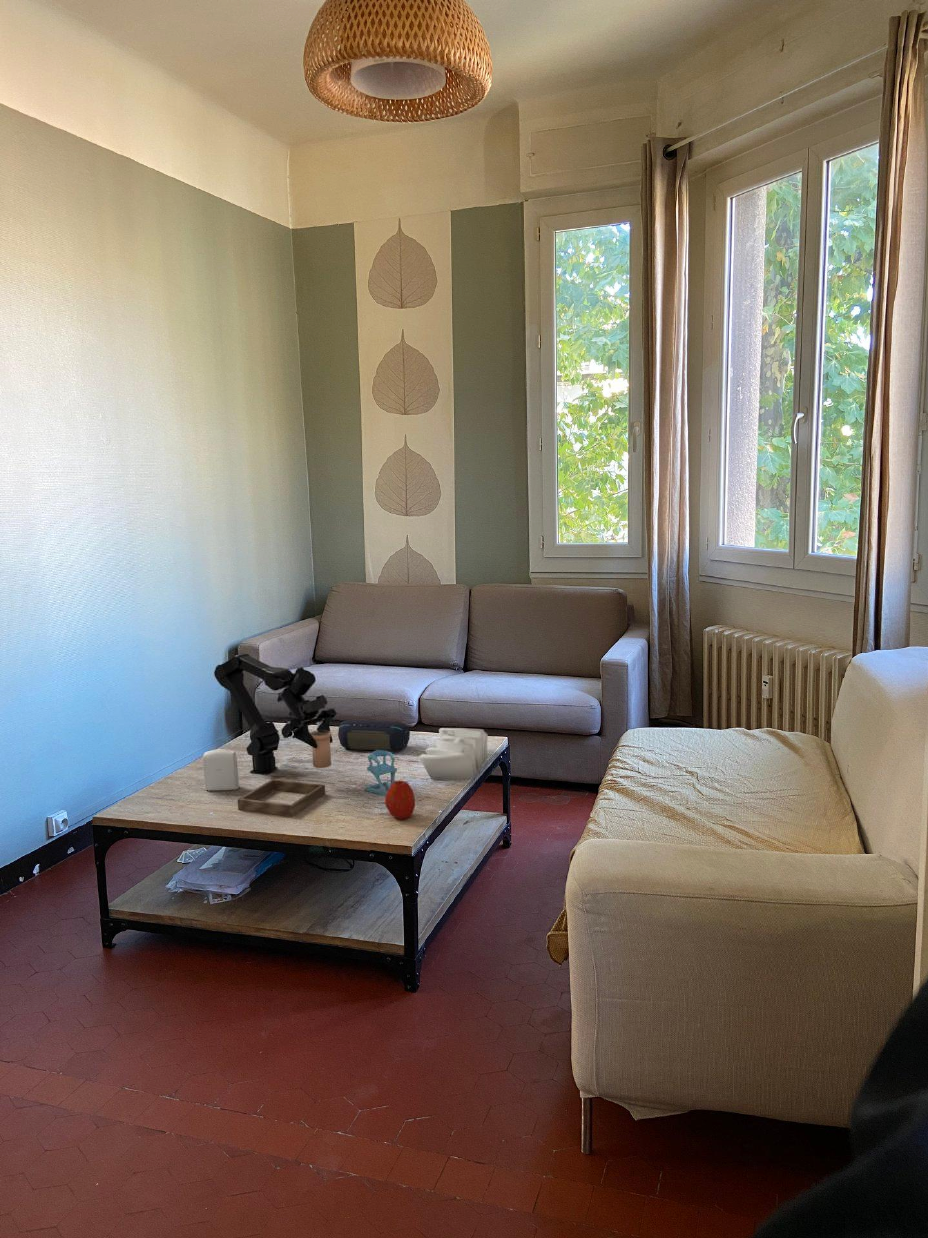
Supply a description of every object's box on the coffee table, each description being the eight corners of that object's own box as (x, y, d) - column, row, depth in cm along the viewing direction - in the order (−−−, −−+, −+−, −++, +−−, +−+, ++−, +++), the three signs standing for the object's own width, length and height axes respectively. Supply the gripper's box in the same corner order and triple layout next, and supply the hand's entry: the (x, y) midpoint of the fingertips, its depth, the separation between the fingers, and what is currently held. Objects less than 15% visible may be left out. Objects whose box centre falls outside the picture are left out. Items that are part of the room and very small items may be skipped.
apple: (380, 820, 244) (379, 782, 242) (394, 809, 251) (393, 773, 249) (407, 824, 240) (405, 786, 239) (421, 813, 248) (419, 776, 246)
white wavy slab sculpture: (466, 788, 267) (465, 754, 265) (414, 784, 272) (413, 750, 270) (496, 752, 300) (495, 722, 298) (449, 749, 305) (448, 719, 303)
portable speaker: (334, 752, 305) (332, 723, 304) (344, 743, 315) (343, 716, 313) (404, 755, 299) (403, 727, 298) (412, 746, 309) (411, 718, 307)
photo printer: (203, 791, 270) (200, 752, 268) (207, 786, 274) (204, 748, 272) (237, 791, 270) (234, 751, 268) (240, 786, 274) (238, 747, 272)
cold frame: (238, 809, 255) (237, 799, 254) (273, 788, 271) (272, 778, 271) (292, 816, 248) (292, 806, 248) (325, 794, 265) (324, 784, 264)
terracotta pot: (311, 769, 267) (310, 736, 265) (311, 762, 273) (310, 730, 271) (332, 767, 268) (331, 735, 266) (332, 761, 274) (330, 729, 272)
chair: (378, 798, 261) (377, 758, 259) (364, 790, 268) (362, 751, 266) (401, 791, 265) (399, 753, 263) (386, 784, 272) (385, 746, 270)
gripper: (285, 695, 261) (314, 737, 257) (331, 682, 276) (358, 722, 271) (269, 717, 267) (296, 759, 263) (314, 703, 282) (341, 742, 277)
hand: (324, 744), depth 268 cm, fingers closed on terracotta pot, 6 cm apart
